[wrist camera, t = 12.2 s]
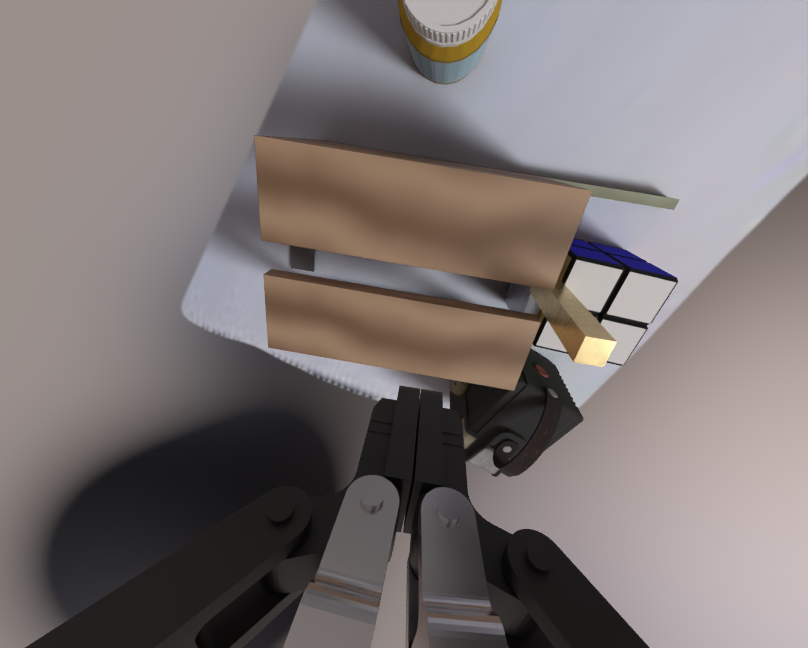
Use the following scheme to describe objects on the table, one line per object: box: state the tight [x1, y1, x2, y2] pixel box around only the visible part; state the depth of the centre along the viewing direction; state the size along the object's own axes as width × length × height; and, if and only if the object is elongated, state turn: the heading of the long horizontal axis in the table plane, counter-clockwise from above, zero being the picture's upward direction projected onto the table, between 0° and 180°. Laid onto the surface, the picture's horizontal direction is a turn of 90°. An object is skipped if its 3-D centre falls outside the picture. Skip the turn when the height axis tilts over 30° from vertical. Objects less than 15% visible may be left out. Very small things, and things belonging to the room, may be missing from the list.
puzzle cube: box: [533, 239, 678, 366], centre depth 36 cm, size 10×10×10 cm
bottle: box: [398, 0, 502, 84], centre depth 24 cm, size 7×7×15 cm
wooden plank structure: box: [254, 135, 679, 391], centre depth 34 cm, size 18×42×14 cm, turn 82°
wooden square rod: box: [505, 278, 617, 367], centre depth 30 cm, size 11×2×20 cm, turn 172°
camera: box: [450, 349, 583, 477], centre depth 42 cm, size 11×14×15 cm
